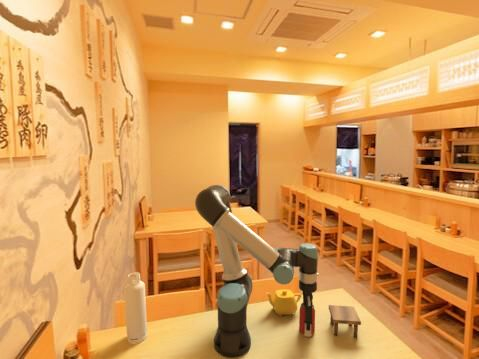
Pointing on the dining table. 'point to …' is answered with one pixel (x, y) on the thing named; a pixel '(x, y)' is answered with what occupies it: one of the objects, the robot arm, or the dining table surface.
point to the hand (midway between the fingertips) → (306, 330)
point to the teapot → (284, 302)
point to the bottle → (135, 309)
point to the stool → (344, 318)
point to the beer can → (302, 319)
